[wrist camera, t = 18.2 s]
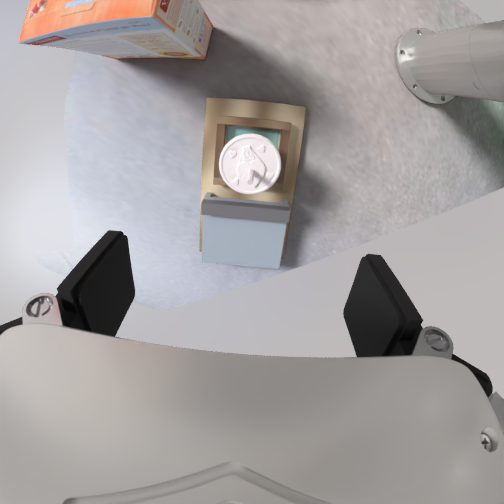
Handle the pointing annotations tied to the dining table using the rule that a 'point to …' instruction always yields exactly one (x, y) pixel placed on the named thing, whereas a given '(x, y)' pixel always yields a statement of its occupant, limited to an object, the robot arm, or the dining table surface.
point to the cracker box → (120, 27)
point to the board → (247, 122)
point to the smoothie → (250, 163)
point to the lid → (243, 231)
